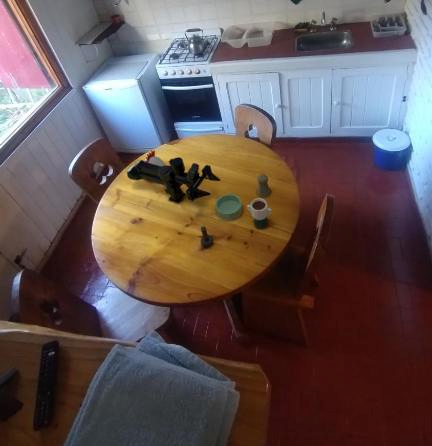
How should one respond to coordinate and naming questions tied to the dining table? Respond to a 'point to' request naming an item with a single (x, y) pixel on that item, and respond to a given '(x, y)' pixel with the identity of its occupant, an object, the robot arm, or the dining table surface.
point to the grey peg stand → (206, 238)
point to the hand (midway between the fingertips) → (215, 186)
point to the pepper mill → (263, 185)
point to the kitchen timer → (154, 160)
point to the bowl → (229, 207)
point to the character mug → (259, 212)
